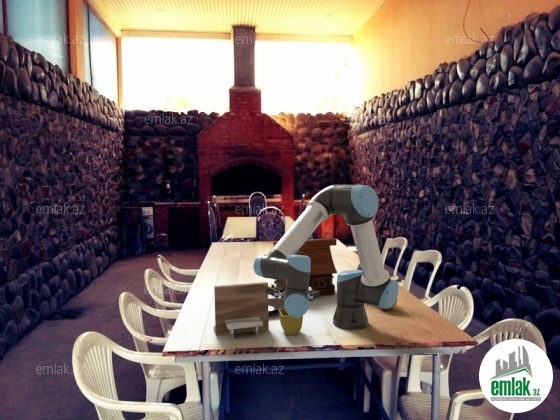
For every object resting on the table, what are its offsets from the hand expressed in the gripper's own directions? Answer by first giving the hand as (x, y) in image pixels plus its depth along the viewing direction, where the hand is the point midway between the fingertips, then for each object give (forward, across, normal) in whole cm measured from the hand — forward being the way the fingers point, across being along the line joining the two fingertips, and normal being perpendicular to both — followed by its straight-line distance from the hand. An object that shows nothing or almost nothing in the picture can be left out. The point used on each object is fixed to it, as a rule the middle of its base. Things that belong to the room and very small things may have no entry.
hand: (292, 288), depth 176 cm
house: (+70, +11, -12) cm, 71 cm away
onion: (+37, +48, -12) cm, 62 cm away
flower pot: (+8, +2, -19) cm, 21 cm away
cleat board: (+9, -18, -21) cm, 29 cm away
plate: (+40, -11, -17) cm, 45 cm away
